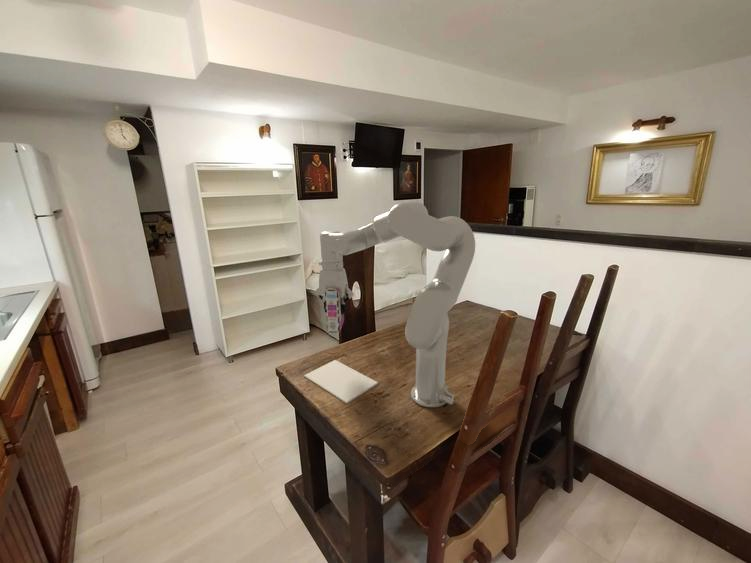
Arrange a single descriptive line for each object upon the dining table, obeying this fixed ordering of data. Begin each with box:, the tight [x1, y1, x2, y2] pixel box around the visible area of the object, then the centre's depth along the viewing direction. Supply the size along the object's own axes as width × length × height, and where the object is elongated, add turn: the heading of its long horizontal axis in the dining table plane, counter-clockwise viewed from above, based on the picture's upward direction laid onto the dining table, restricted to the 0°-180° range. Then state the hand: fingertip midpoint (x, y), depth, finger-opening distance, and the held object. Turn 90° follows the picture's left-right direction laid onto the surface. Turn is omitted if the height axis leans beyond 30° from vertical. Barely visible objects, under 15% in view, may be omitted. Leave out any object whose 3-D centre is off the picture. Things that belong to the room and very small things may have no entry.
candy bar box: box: [325, 288, 345, 334], centre depth 121 cm, size 11×5×16 cm, turn 177°
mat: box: [303, 359, 379, 404], centre depth 120 cm, size 24×15×1 cm, turn 47°
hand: (335, 311), depth 122 cm, fingers closed on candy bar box, 5 cm apart
